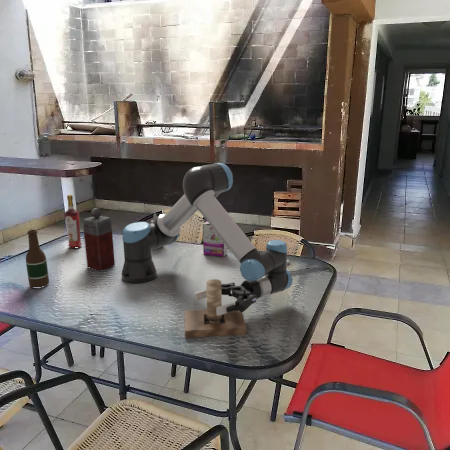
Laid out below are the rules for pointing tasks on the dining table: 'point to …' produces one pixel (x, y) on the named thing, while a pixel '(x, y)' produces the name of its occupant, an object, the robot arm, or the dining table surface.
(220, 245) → the candy bar box
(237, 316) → the walnut board
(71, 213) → the liquor
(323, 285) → the dining table surface
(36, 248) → the beer bottle
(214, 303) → the birch peg
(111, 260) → the red square decanter
